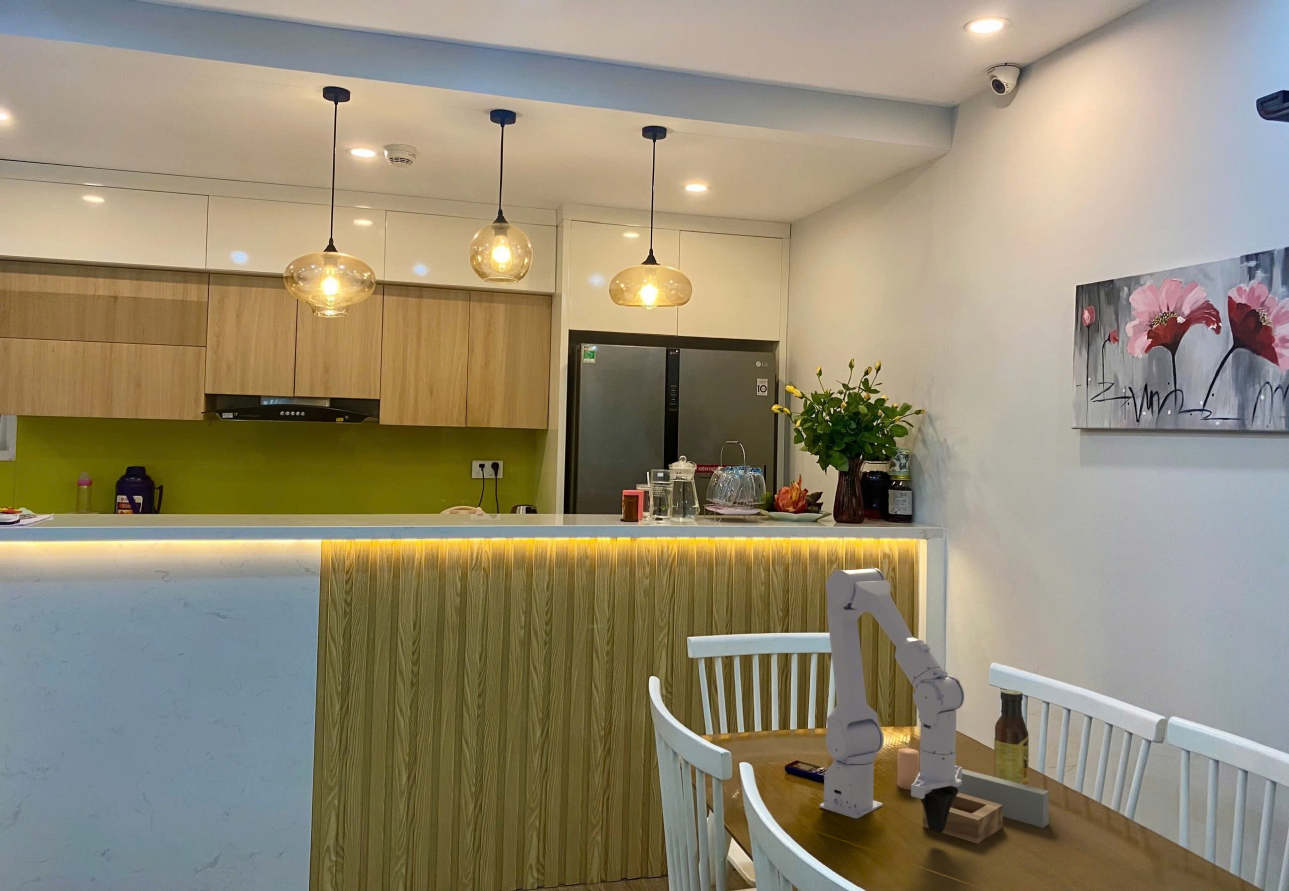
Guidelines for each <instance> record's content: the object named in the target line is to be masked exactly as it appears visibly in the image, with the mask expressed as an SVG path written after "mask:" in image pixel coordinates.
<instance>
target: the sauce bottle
mask: <svg viewBox="0 0 1289 891" xmlns="http://www.w3.org/2000/svg"><path fill="white" fill-rule="evenodd" d="M1023 697H1024V695H1023V692H1022V691H1019V690H1015V689H1014V690H1013V689H1002V690H1000V700H1001V710H1000V713H1001V715H1000V717H999V718H998V720H997V721H996V722H995V725H994V740H993V742H994V743H993V744H994V748H993V749H994V750H993V751H994V754H993V756H994V758H993V761H994V762H993V765H994V766H993V770H994V771H993V774H994V775H993V777H996V778H1000V779H1004V780H1008V781H1012V782H1015V783H1019V784H1023V785H1027V786H1029V765H1030V764H1029V761H1030V760H1029V756H1030V754H1029V750H1030V748H1029V741H1030V740H1029V739H1030V738H1029V736H1030V734H1029V732H1028V729H1027V725H1026V723H1025V719H1024V717H1023V711H1022V710H1023V707H1022V705H1023V704H1022V702H1023V699H1024V698H1023Z"/></svg>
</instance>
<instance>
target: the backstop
mask: <svg viewBox="0 0 1289 891" xmlns="http://www.w3.org/2000/svg"><path fill="white" fill-rule="evenodd" d="M960 780H962V784H961V785H960V786H953V787H956V788H958V793H962V794H965V795H969V796H973V797H976V798H980V799H983V800H987V801H991V802H994V803H998V804H1001V805H1003V817H1004V818H1007V819H1011V820H1014V821H1019V822H1022V823H1024V824H1028V825H1031V826H1036V827H1039V828H1042V829H1043V828H1045V827H1047V826H1048V825H1049V816H1050V815H1049V810H1050V809H1049V808H1050V807H1049V806H1050V805H1049V804H1050V798H1049V797H1050V791H1049V790H1045V789H1042V788H1039V787H1035V786H1030V785H1028V786H1027V785H1023V784H1019V783H1015V782H1012V781H1008V780H1004V779H1000V778H996V777H994V776H991V775H987V774H983V773H979V772H975V771H973V770H968V769H964V768H962V778H961V779H960Z"/></svg>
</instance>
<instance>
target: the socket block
mask: <svg viewBox="0 0 1289 891" xmlns="http://www.w3.org/2000/svg"><path fill="white" fill-rule="evenodd" d="M922 807H923V806H922ZM922 809H923V810H922V827H923V828H926V829H929V826H928V822H927V818H926V813H925V810H924V807H923V808H922ZM1003 822H1004V821H1003V805H1001V804H998V803H994V802H991V801H987V800H983V799H980V798H976V797H973V796H969V795H965V794H962V793H958V794H957V795H956V797H955V799H954V801H953V803H952V805H951V807H950V810H949V814H948V817H947V821H946V825H945V829H944V831H943V832H941V833H940V834H945V835H948V836H951V837H954V838H958V839H961V840H963V841H968V842H970V843H974V844H977V845H978V844H980V843H981V842H983V841H984V840H986V839H988V838H989V837H991V836H992V835H994V834H995V833H997V832H998V831H999V830H1001V829H1002V828H1003V825H1004V824H1003Z"/></svg>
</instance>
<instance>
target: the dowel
mask: <svg viewBox="0 0 1289 891" xmlns="http://www.w3.org/2000/svg"><path fill="white" fill-rule="evenodd" d="M919 772H920V752H919V750H916V749H914V748H907V747H906V748H904V747H903V748H899V749H897V779H896V780H897V783H896V784H897V787H898V788H900V789H904V790H910V791H911V784H913V783H914V782H915V780H916V778H917V776H918V774H919Z"/></svg>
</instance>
